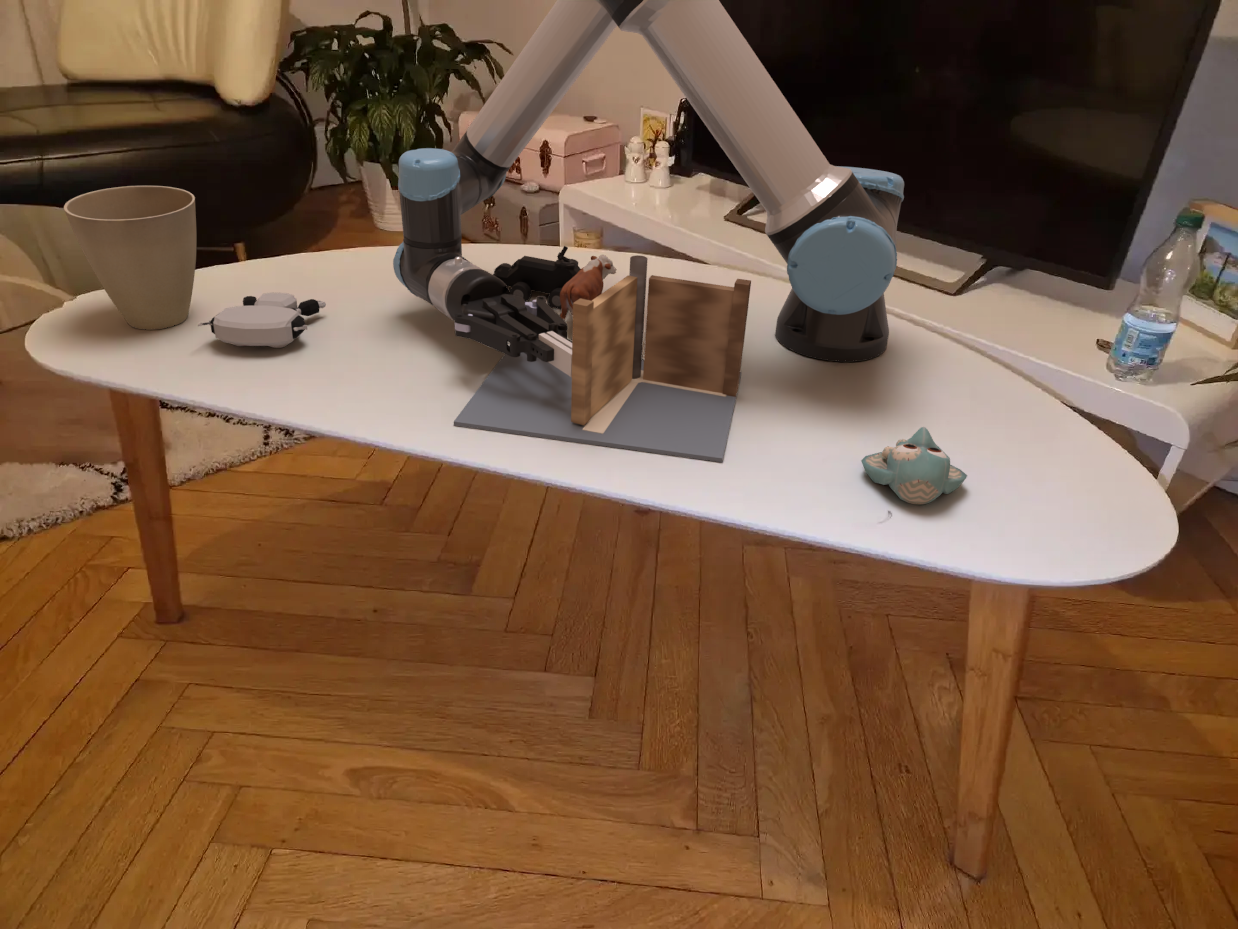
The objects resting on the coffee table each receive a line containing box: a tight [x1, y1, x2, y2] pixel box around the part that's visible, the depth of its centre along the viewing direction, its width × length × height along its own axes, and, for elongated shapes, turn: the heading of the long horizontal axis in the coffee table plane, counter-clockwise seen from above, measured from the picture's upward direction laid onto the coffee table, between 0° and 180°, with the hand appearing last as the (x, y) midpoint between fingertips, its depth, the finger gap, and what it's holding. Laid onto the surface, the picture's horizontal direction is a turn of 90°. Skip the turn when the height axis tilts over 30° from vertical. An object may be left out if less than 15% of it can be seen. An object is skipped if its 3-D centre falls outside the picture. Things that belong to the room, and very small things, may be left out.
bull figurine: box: [559, 254, 617, 322], centre depth 129 cm, size 4×13×8 cm, turn 155°
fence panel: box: [571, 274, 637, 425], centre depth 105 cm, size 13×2×14 cm, turn 155°
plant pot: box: [63, 185, 197, 331], centre depth 121 cm, size 15×15×16 cm
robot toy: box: [197, 292, 327, 349], centre depth 122 cm, size 12×4×15 cm
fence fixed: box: [628, 255, 752, 398], centre depth 110 cm, size 14×2×16 cm, turn 73°
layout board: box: [453, 353, 742, 463], centre depth 110 cm, size 30×22×1 cm
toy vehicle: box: [492, 245, 582, 310], centre depth 137 cm, size 8×15×9 cm, turn 72°
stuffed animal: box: [860, 426, 968, 505], centre depth 96 cm, size 11×7×12 cm
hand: (577, 363), depth 102 cm, fingers closed
